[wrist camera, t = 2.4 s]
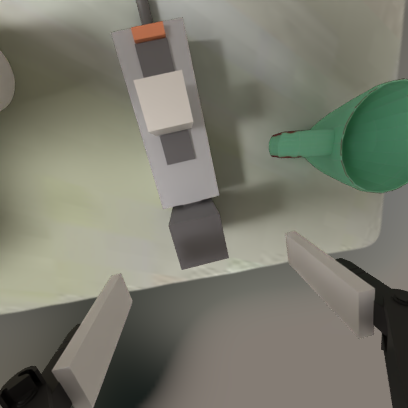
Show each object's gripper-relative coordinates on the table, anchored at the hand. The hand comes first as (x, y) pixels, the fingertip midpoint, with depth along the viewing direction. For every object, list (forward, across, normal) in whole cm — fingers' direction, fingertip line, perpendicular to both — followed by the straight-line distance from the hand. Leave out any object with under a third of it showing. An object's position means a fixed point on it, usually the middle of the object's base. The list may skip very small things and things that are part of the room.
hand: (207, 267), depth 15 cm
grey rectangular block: (+13, 0, +2) cm, 13 cm away
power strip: (+13, 0, +18) cm, 22 cm away
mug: (+14, +16, +6) cm, 22 cm away
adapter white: (+9, 0, +13) cm, 16 cm away
